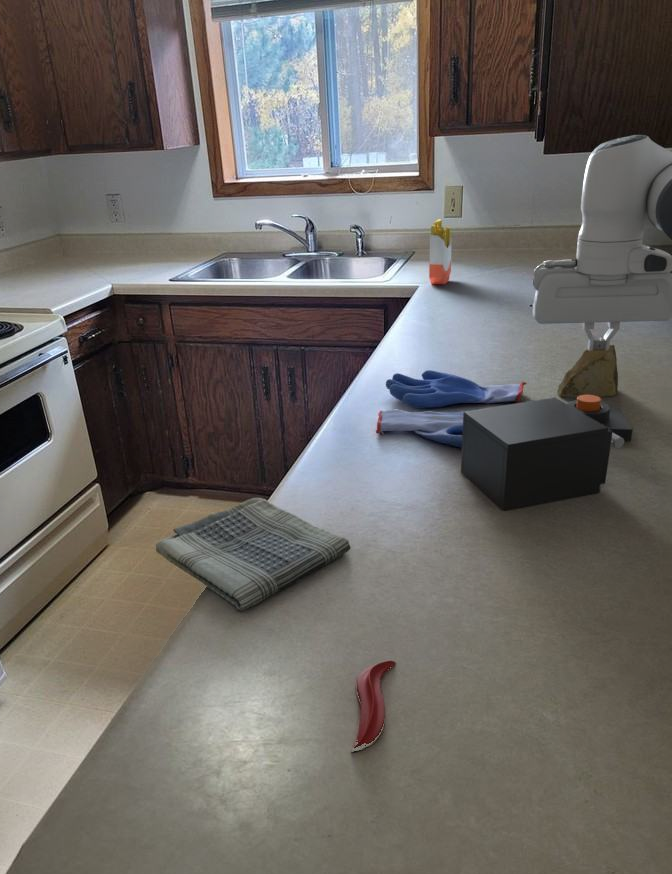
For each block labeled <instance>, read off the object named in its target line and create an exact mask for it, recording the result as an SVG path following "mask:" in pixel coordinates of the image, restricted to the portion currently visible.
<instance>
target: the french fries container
mask: <svg viewBox="0 0 672 874" xmlns="http://www.w3.org/2000/svg"><path fill="white" fill-rule="evenodd" d="M442 221H443V220H442V219H436V221H433V224H431V225H430V234H429V269H428V270H429V271H428V276H429V277H428V278H429V282H430V284H431V285H446V284H447V283H448V282H449V280H450V277H451V272H452V244H453V243H452V241H453V240H452V239H453V238H452V236H453V235H452V231H451V226H449V225H448V226H445V227H443V226H442V225H443V223H442Z"/></svg>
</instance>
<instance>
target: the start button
mask: <svg viewBox="0 0 672 874" xmlns="http://www.w3.org/2000/svg"><path fill="white" fill-rule="evenodd" d="M576 400H577V404H576V408H577V409H579V410H583V411H598V410H600V403H601V402H602V398H601V397H598V396H595V395H580V396H578V397H576Z"/></svg>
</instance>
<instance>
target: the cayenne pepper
mask: <svg viewBox="0 0 672 874" xmlns="http://www.w3.org/2000/svg"><path fill="white" fill-rule="evenodd" d="M396 664H397V662H395V661H394V660H386V661H382V662H379V663H376V664H374V665H371V666H369V667H367V668H366V669H363V671H361V672H360V673H359V674H358V676H357V678H356V684H357V692H358V696H359V699H360V702H361V719H360V718H359V726H358V733H357V737H356V739H355V742H358V744H357V745H356V746H355V747H354V748H356V747H358V746H361V745H362V744H364V743H366V744H369V743H371V742H372V741H374V740H375V738H376V737H377V736H378V735H379V733H380V732H381V729H382V727H383V724H384V718H385V719H386V706H385V701H384V697H383V692H382V687H381V683H380V680H381V681H382V679H383V677H384V675H385V674H386V673H387V672H388V671H389V670H391V669H390V667H392V666H393V665H394V666H396ZM394 666H393V667H394ZM393 667H392V668H393ZM388 669H389V670H388ZM387 670H388V671H387ZM386 671H387V672H386ZM385 672H386V673H385ZM384 673H385V674H384ZM383 674H384V675H383ZM382 676H383V677H382ZM381 678H382V679H381ZM384 725H385V724H384ZM356 740H358V741H356ZM365 746H366V745H365Z"/></svg>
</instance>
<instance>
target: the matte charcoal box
mask: <svg viewBox="0 0 672 874" xmlns="http://www.w3.org/2000/svg"><path fill="white" fill-rule="evenodd" d="M567 404H568V403H566V402H564V401H562V400H561V399H559V398H557V397H547V398H543V399H536V400H530V401H523V402H519V403H516V402H515V403H509V404H505V405H503V404H502V405H498V406H492V407H484V408H479V409H477V408H476V409H471V410H464V411H465V412H464V413H463V434H461V435H462V448H461V459H460V473H461V474H462V475H463V476H464V477H466V479H468V480H469V481H470V483H472V484H473V485H474V486H475V487H476V488H477V489H478V490H479V491H480V492H482V494H484V495H485V496H486V497H487V498H488V499H489V500H491V501H492V502H493V503H494V504H495V506H497V507H498V508H499V509H501V511H502V512H504V511H510V510H511V511H512V510H516V509H522V508H526V507H532V506H537V505H541V504H546V503H554V502H558V501H563V500H569V499H573V498H579V497H584V496H589V495H594V494H600V491H601V485H602V484H601V478H602V471H603V463H604V456H605V449H606V442H607V435H608V434H607V433H608V427H606V426H604V425H602V424H601V423H599V422H597V421H595V420H594V419H592V418H590V417H588V416H587V415H585V414H583V413H581V412H580V411H578V410H576V409H574V408H573V407H571V406H569V405H567Z"/></svg>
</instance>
